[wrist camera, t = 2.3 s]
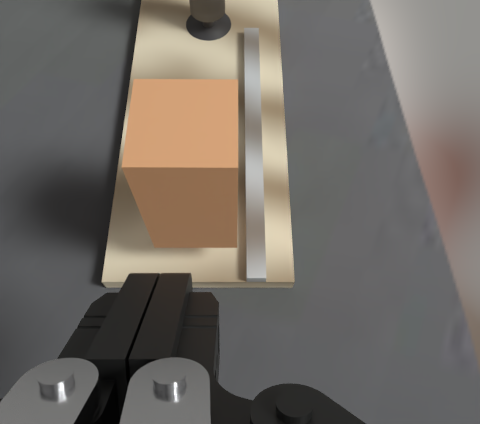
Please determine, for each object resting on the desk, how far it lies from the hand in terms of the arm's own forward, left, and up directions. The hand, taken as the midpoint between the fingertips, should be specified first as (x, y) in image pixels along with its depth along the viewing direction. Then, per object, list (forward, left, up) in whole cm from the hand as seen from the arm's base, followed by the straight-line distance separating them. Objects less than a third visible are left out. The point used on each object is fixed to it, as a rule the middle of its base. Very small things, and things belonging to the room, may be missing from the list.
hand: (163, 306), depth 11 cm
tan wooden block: (-4, +6, -11) cm, 13 cm away
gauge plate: (-8, +14, -12) cm, 21 cm away
